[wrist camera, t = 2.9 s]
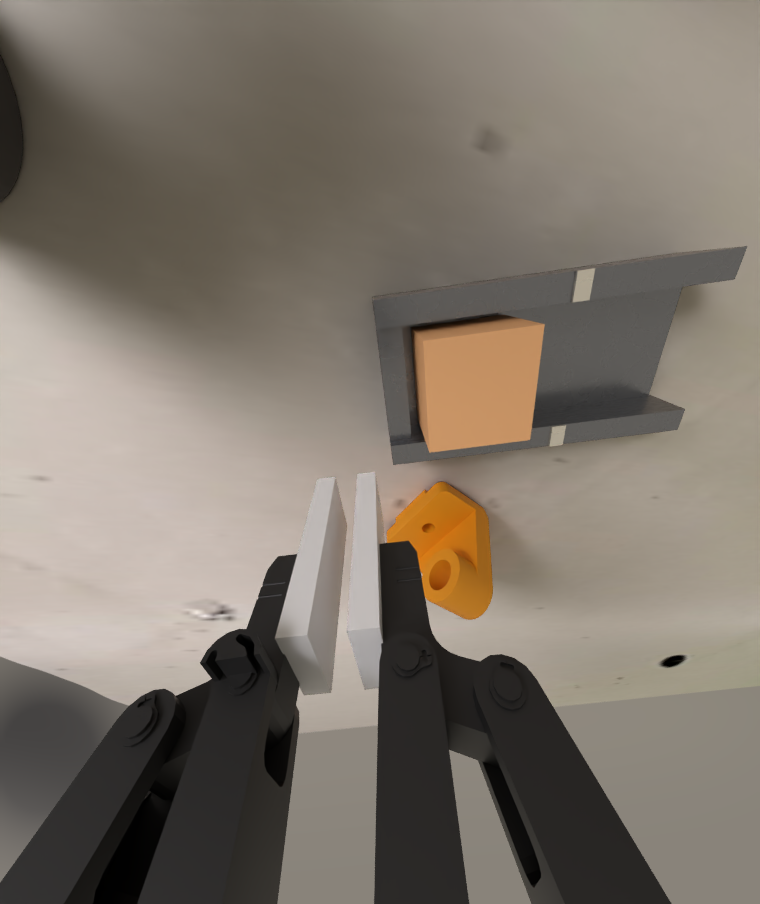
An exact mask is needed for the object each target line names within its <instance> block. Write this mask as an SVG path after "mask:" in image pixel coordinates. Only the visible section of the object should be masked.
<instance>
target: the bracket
mask: <svg viewBox="0 0 760 904" xmlns="http://www.w3.org/2000/svg"><path fill="white" fill-rule="evenodd" d="M401 541H409V542H410V543H411V544H412V546H413V547H414V548H415V550H416V551H417V555H418V561H419V567H420V571H421V573H422V574H423V576H422V584H423V589H424V595H425V597H426V599H427V600H429V601H430V602H432V603H434V604H436V605H438V606H440V607H442V608H444V609H446V610H448V611H450V612H452V613H454V614H456V615H458V616H460V617H462V618H464V619H468V620H471V619H476V618H478V617H479V616H481V615H482V614H483V613H484V612H485V611H486V609H487V608H488V606H489V604H490V602H491V599H492V594H493V583H492V568H491V552H490V536H489V521H488V517H487V515H486V513H485V511H484V509H483V508H482V507H481V506H480V505H478V504H477V503H475V502H474V501H472V500H471V499H469V498H468V497H466V496H465V495H463V494H462V493H460V492H459V491H457V490H456V489H455V488H453V487H452V486H450V485H449V484H447V483H445V482H438V483H436V484H435V485H434V486H433V487H432V488H431V489H430V490H429V491H428V492H427V491H426V490H424V491H423V492H422V493H421V494H420V495H419V496H418V497H417V498H416V499H415V500H414V501H413V502H412V503H411V504H410V505H409V506H408V507H407V508H406V509H404V510H403V511H402V512H401V513H400V514H399V515H398V516H397V517H396V523H395V524H394V525H393V526H392V527H391V528H390V529H389V530H388V531H387V543H392V542H401Z"/></svg>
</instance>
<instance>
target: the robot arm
mask: <svg viewBox="0 0 760 904" xmlns="http://www.w3.org/2000/svg"><path fill="white" fill-rule="evenodd" d="M22 150H23V139H22V127H21V119H20V114H19V109H18V105H17V101H16V97H15V93H14V90H13V87H12V84H11V81H10V78H9V75H8V72H7V70H6V67H5V65H4V62H3V60H2V58H1V55H0V202H1V201H2V200H3V199H4V198H5V197H6V196H7V195H8V193H9V192H10V191H11V189H12V188H13V186H14V184H15V182H16V179H17V177H18V174H19V170H20V166H21V160H22ZM346 531H347V523H346V519H345V515H344V511H343V507H342V502H341V498H340V494H339V490H338V486H337V481H336V477H328V478H320V479H317V482H316V486H315V490H314V494H313V497H312V501H311V505H310V509H309V512H308V516H307V520H306V524H305V527H304V531H303V535H302V539H301V542H300V546H299V550H298V553H297V554H295V555H286V556H278V557H277V559H276V560H275V561H274V562H273V564H272V565H271V566H270V567H269V569H268V570H267V573H266V576H265V579H264V582H263V587H261V590H260V593H259V596H258V599H257V601H256V604H255V607H254V610H253V612H252V615H251V618H250V621H249V624H248V626H247V629H238V630H235V631H232V632H229V633H227V634H225V635H224V636H222V637H221V638H219V639H218V640H217V641H216V642H215V643H214V644H213V645H212V646H211V647H210V648H209V649H208V650H207V652H206V653H205V655H204V657H203V659H202V660H201V662H200V664H201V665H202V666H203V668H204V669H205V670H206V672H207V673H208V674H209V675H210V677H211V678H212V679H211V680H209V681H208V682H206V683H204V684H201V685H199V686H197V687H195V688H193V689H190V690H188V691H186V692H184V693H181V694H179V695H177V696H175V695H174V694H173V693H172V692H170V691H168V690H166V689H159V690H153V691H151V692H149V693H147V694H145V695H143V696H141V697H140V698H139V699H137V700H136V701H135V702H134V703H132V704H131V705H130V706H129V707H128V708H127V709H126V710H125V711H124V712H123V714H122V715H121V716H120V717H119V718H118V719H117V721H116V722H115V723H114V725H113V726H112V728H111V729H110V730H109V732H108V733H107V735H106V736H105V737H104V739H103V740H102V742H101V743H100V745H99V746H98V747H97V748H96V750H95V751H94V753H93V754H92V755H91V757H90V758H89V760H88V761H87V762H86V764H85V765H84V767H83V768H82V769H81V771H80V772H79V774H78V775H77V777H76V778H75V779H74V781H73V782H72V783H71V785H70V786H69V788H68V789H67V791H66V792H65V793H64V795H63V796H62V797H61V799H60V800H59V802H58V803H57V804H56V806H55V807H54V809H53V810H52V811H51V813H50V814H49V816H48V817H47V818H46V820H45V821H44V823H43V824H42V825H41V827H40V828H39V830H38V831H37V832H36V834H35V835H34V836H33V838H32V839H31V841H30V842H29V844H28V845H27V846H26V848H25V849H24V850H23V852H22V853H21V855H20V856H19V858H18V859H17V860H16V862H15V863H14V864H13V866H12V867H11V869H10V870H9V871H8V873H7V874H6V876H5V877H4V878H3V880H2V881H1V883H0V904H277V901H278V893H279V884H280V876H281V868H282V860H283V852H284V844H285V836H286V827H287V819H288V811H289V803H290V794H291V786H292V778H293V770H294V762H295V754H296V746H297V737H298V729H299V711H298V709H297V706H296V701H297V696H298V690H299V687H300V689H301V690H302V692H303V694H304V695H312V694H322V693H331V690H332V679H333V669H334V658H335V647H336V637H337V626H338V616H339V605H340V594H341V584H342V573H343V563H344V552H345V542H346ZM347 633H348V637H349V640H350V643H351V646H352V650H353V653H354V656H355V659H356V663H357V666H358V669H359V672H360V676H361V679H362V682H363V685H364V689H373V688H379V701H378V750H377V798H376V800H377V801H376V848H375V896H374V904H469V900H468V892H467V884H466V876H465V869H464V862H463V854H462V846H461V839H460V831H459V823H458V816H457V809H456V800H455V793H454V786H453V778H452V770H451V763H450V755H449V750H452V751H454V752H457V753H460V754H463V755H465V756H468V757H471V758H473V759H476V760H478V761H479V764H480V767H481V770H482V772H483V774H484V777H485V780H486V783H487V786H488V788H489V791H490V794H491V796H492V799H493V802H494V804H495V807H496V810H497V812H498V815H499V818H500V821H501V823H502V826H503V829H504V831H505V834H506V837H507V839H508V842H509V844H510V847H511V850H512V852H513V855H514V858H515V861H516V863H517V866H518V869H519V872H520V874H521V877H522V880H523V882H524V885H525V887H526V890H527V893H528V895H529V898H530V901H531V904H671V902H670V901H669V899H668V897H667V896H666V894H665V892H664V891H663V889H662V887H661V886H660V884H659V882H658V881H657V879H656V877H655V876H654V874H653V872H652V871H651V869H650V867H649V866H648V864H647V862H646V861H645V859H644V857H643V856H642V854H641V852H640V851H639V849H638V848H637V846H636V844H635V843H634V841H633V839H632V837H631V836H630V834H629V832H628V831H627V829H626V827H625V826H624V824H623V823H622V821H621V819H620V818H619V816H618V814H617V813H616V811H615V809H614V808H613V806H612V805H611V803H610V801H609V799H608V798H607V796H606V794H605V793H604V791H603V789H602V788H601V786H600V784H599V783H598V781H597V779H596V778H595V776H594V775H593V773H592V771H591V769H590V768H589V766H588V764H587V763H586V761H585V759H584V758H583V756H582V754H581V753H580V751H579V749H578V748H577V746H576V744H575V743H574V741H573V739H572V738H571V736H570V734H569V733H568V731H567V730H566V728H565V726H564V725H563V723H562V721H561V719H560V718H559V716H558V715H557V713H556V711H555V709H554V708H553V706H552V704H551V703H550V701H549V699H548V698H547V696H546V694H545V693H544V691H543V689H542V688H541V686H540V684H539V683H538V681H537V679H536V678H535V677H534V676H533V674H532V673H531V672H530V671H529V669H528V668H527V667H526V666H525V665H523V664H522V663H520V662H519V661H518V660H516V659H515V658H512V657H509V656H505V655H502V654H500V655H490V656H488V657H487V658H485V659H483V660H482V661H481V662H479V661H476V660H472V659H468V658H464V657H460V656H458V655H455V654H452V653H450V652H449V651H447V650H446V649H444V648H443V647H442V646H441V645H440V644H439V643H438V642H437V641H436V639H435V637H434V636H433V634H432V631H431V628H430V624H429V618H428V612H427V607H426V601H425V595H424V589H423V584H422V578H421V572H420V567H419V561H418V555H417V551H416V550H415V548H414V547H413V546H412V544H411V543H410V542H409V541H401V542H392V543H384V527H383V517H382V511H381V504H380V498H379V492H378V486H377V480H376V473H375V472H368V473H360V474H357V484H356V499H355V514H354V529H353V544H352V559H351V574H350V589H349V604H348V619H347Z"/></svg>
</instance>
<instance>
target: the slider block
mask: <svg viewBox="0 0 760 904" xmlns="http://www.w3.org/2000/svg"><path fill="white" fill-rule="evenodd" d="M544 326H545V324H542V323H538V322H533V321H529V320H525V319H521V318H517V317H512V316H508V315H497V316H489V317H482V318H475V319H468V320H461V321H454V322H447V323H439V324H432V325H425V326H418V327H411V335H412V348H413V362H414V376H415V390H416V403H417V417H418V421H419V424H420V427H421V430H422V433H423V435H424V438H425V441H426V444H427V447H428V450H429V453H431V452H439V451H447V450H455V449H463V448H471V447H479V446H487V445H495V444H503V443H511V442H519V441H527V440H530V437H531V429H532V422H533V414H534V406H535V398H536V390H537V382H538V374H539V366H540V358H541V350H542V342H543V334H544Z"/></svg>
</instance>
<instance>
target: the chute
mask: <svg viewBox="0 0 760 904" xmlns="http://www.w3.org/2000/svg"><path fill="white" fill-rule="evenodd" d="M746 248H747V246H744V247H734V248H724V249H713V250H703V251H693V252H682V253H674V254H667V255H660V256H653V257H646V258H639V259H632V260H625V261H618V262H611V263H604V264H597V265H591V266H584V267H577V268H570V269H563V270H556V271H549V272H542V273H535V274H528V275H521V276H514V277H507V278H500V279H493V280H487V281H480V282H473V283H466V284H459V285H452V286H445V287H438V288H431V289H424V290H417V291H410V292H403V293H396V294H390V295H383V296H376V297H372V299H373V307H374V315H375V323H376V331H377V339H378V347H379V355H380V363H381V371H382V379H383V387H384V395H385V403H386V411H387V419H388V427H389V435H390V443H391V451H392V459H393V465H396V464H405V463H413V462H421V461H429V460H437V459H445V458H453V457H461V456H469V455H477V454H485V453H493V452H501V451H510V450H518V449H526V448H534V447H542V446H549V447H551V446H559V445H563V444H566V443H574V442H582V441H590V440H598V439H606V438H615V437H623V436H631V435H639V434H647V433H655V432H663V431H671V430H677V429H678V427H679V424H680V421H681V419H682V416H683V413H684V411H685V409H683V408H681V407H678V406H676V405H673V404H671V403H668V402H666V401H663V400H661V399H659V398H656V397H654V396H651V395H649V392H650V389H651V386H652V383H653V379H654V376H655V373H656V370H657V367H658V363H659V360H660V357H661V354H662V351H663V347H664V344H665V341H666V338H667V335H668V331H669V328H670V325H671V322H672V319H673V315H674V312H675V309H676V306H677V303H678V299H679V296H680V293H681V290H682V287H684V286H691V285H698V284H705V283H712V282H719V281H727V280H734V279H735V277H736V275H737V272H738V269H739V267H740V264H741V261H742V259H743V256H744V254H745V251H746ZM497 315H508V316H512V317H517V318H521V319H525V320H529V321H533V322H538V323H542V324H545V326H544V334H543V342H542V350H541V358H540V366H539V374H538V382H537V390H536V398H535V406H534V414H533V422H532V429H531V437H530V440H527V441H519V442H511V443H503V444H495V445H487V446H479V447H471V448H463V449H455V450H447V451H439V452H431V453H429V450H428V447H427V444H426V441H425V438H424V435H423V433H422V430H421V427H420V424H419V421H418V417H417V403H416V390H415V376H414V362H413V348H412V335H411V327H418V326H425V325H432V324H439V323H447V322H454V321H461V320H468V319H475V318H482V317H489V316H497Z"/></svg>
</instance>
